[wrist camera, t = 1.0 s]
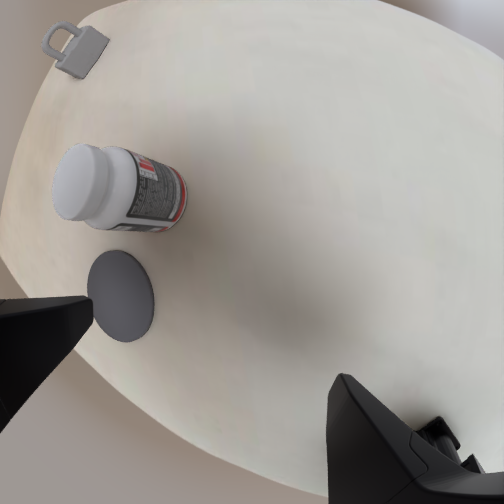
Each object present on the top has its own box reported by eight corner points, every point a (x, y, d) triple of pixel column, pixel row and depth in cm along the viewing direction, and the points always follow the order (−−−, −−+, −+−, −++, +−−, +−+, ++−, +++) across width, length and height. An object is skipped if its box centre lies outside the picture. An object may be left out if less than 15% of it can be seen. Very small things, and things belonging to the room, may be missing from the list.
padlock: (99, 40, 26) (58, 13, 16) (112, 39, 25) (68, 8, 15) (74, 78, 27) (28, 55, 17) (85, 79, 26) (35, 54, 17)
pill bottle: (167, 155, 22) (84, 117, 13) (202, 199, 21) (115, 173, 12) (127, 200, 23) (41, 185, 14) (157, 246, 23) (64, 248, 13)
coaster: (171, 307, 22) (167, 308, 22) (123, 355, 24) (120, 357, 24) (119, 231, 24) (114, 231, 23) (81, 287, 26) (77, 288, 25)
